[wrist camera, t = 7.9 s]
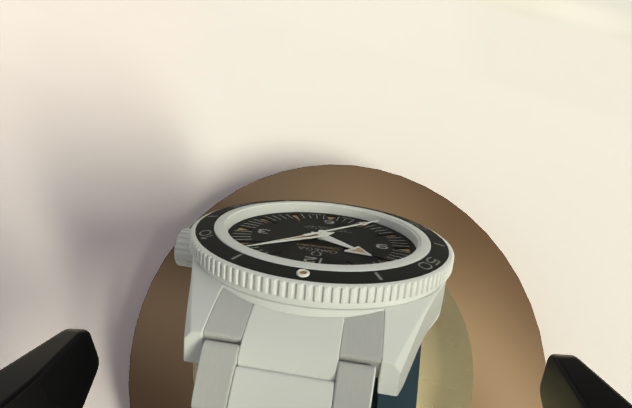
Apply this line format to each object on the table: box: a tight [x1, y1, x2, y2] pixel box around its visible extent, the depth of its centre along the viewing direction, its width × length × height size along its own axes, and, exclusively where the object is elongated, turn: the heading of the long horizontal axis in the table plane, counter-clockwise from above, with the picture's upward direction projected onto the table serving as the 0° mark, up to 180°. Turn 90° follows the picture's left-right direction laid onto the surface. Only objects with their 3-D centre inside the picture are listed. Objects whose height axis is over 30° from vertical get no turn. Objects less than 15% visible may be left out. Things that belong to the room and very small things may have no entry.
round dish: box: [129, 165, 546, 408], centre depth 17 cm, size 15×15×2 cm
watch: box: [174, 200, 454, 408], centre depth 11 cm, size 6×8×11 cm
